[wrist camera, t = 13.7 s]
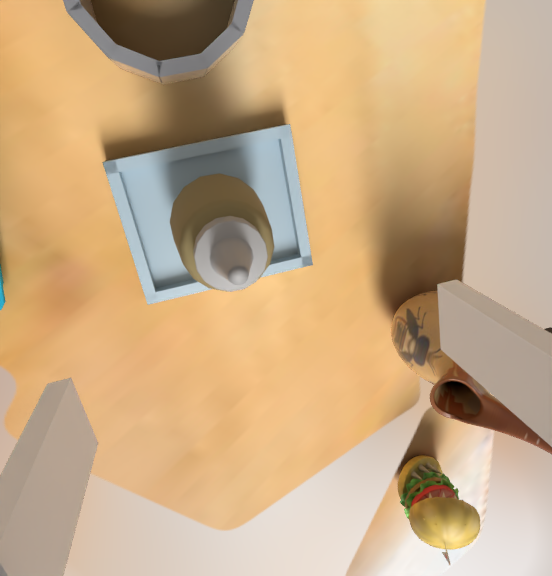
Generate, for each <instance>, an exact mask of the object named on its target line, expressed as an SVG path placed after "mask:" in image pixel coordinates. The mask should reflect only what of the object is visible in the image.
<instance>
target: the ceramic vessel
mask: <svg viewBox="0 0 552 576" xmlns="http://www.w3.org/2000/svg"><path fill="white" fill-rule="evenodd" d="M391 335H392V340H393V343H394V346H395V348H396V350H397V352H398V354H399V356H400V357H401V358H402V360H403V361H404V362H405V363H406V365H407V366H408V367H409V368H410V369H411V370H413V371H414V372H415V373H416V374H418V375H419V376H420V377H422V378H424V379H425V380H427V381H428V382H430V383H432V384H434V386H433V388H432V390H431V393H430V402H431V405H432V406H433V408H434V409H435V410H436V411H437V412H438V413H439V414H441V415H443V416H445V417H448V418H451V419H455V420H459V421H461V422H464V423H468V424H472V425H476V426H480V427H484V428H488V429H492V430H495V431H499V432H502V433H505V434H508V435H511V436H513V437H516V438H519V439H521V440H524V441H526V442H528V443H531V444H533V445H535V446H537V447H539V448H541V449H543V450H545V451H547V452H548V453H550V454H552V447H551V446H550V445H549V444H548V443H547V442H546V441H544V440H543V439H542V438H541V437H540V436H539V435H538V434H536V433H535V432H534V431H533V430H532V429H531V428H530V427H528V426H527V425H526V424H525V423H524V422H523V421H522V420H521V419H519V418H518V417H517V416H516V415H515V414H514V413H513V412H511V411H510V410H509V409H508V408H507V407H506V406H505V405H503V404H502V403H501V402H500V401H499V400H498V399H497V398H495V397H494V396H493V395H491V394H490V392H489V391H487V390H486V389H485V388H484V387H483V386H482V385H481V384H479V383H478V382H477V381H476V380H475V379H474V378H473V377H472V376H470V375H469V374H468V373H467V372H466V371H465V370H464V369H462V368H461V367H460V366H459V365H458V364H457V363H456V362H454V361H453V360H452V359H451V358H450V357H449V356H448V355H446V354H445V353H444V352H443V351H442V350H441V346H440V327H439V308H438V290H435V291H429V292H424V293H421V294H418V295H416V296H414V297H412V298H410V299H408V300H407V301H405V302H404V303H403V304H402V305H401V306H400V307H399V308H398V310H397V311H396V313H395V315H394V317H393V320H392V325H391Z"/></svg>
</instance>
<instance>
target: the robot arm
mask: <svg viewBox="0 0 552 576" xmlns="http://www.w3.org/2000/svg"><path fill="white" fill-rule="evenodd" d="M437 289H438V308H439V327H440V346H441V350H442V351H443V352H444V353H445V354H446V355H448V356H449V357H450V358H451V359H452V360H453V361H454V362H456V363H457V364H458V365H459V366H460V367H461V368H462V369H464V370H465V371H466V372H467V373H468V374H469V375H470V376H472V377H473V378H474V379H475V380H476V381H477V382H478V383H479V384H481V385H482V386H483V387H484V388H485V389H486V390H487V391H489V392H490V393H491V394H492V395H493V396H494V397H495V398H497V399H498V400H499V401H500V402H501V403H502V404H503V405H505V406H506V407H507V408H508V409H509V410H510V411H511V412H513V413H514V414H515V415H516V416H517V417H518V418H519V419H521V420H522V421H523V422H524V423H525V424H526V425H527V426H528V427H530V428H531V429H532V430H533V431H534V432H535V433H536V434H538V435H539V436H540V437H541V438H542V439H543V440H544V441H546V442H547V443H548V444H549V445H550V446H551V447H552V328H546V329H543V328H541V327H539V326H537V325H536V324H534V323H532V322H530V321H529V320H527V319H525V318H523V317H522V316H520V315H518V314H516V313H515V312H513V311H511V310H509V309H508V308H506V307H504V306H502V305H501V304H499V303H497V302H495V301H494V300H492V299H490V298H488V297H486V296H485V295H483V294H481V293H479V292H478V291H476V290H474V289H472V288H471V287H469V286H467V285H466V284H464V283H462V282H460V281H459V280H457V279H456V280H452V281H448V282H444V283H440V284H437ZM97 445H98V442H97V439H96V437H95V434H94V432H93V429H92V427H91V425H90V422H89V420H88V417H87V415H86V413H85V410H84V408H83V405H82V403H81V401H80V398H79V396H78V393H77V391H76V388H75V386H74V384H73V381H72V379H71V378H68V379H64V380H60V381H56V382H52V383H48V384H47V386H46V387H45V389H44V391H43V393H42V395H41V397H40V399H39V401H38V403H37V405H36V407H35V409H34V411H33V413H32V415H31V417H30V419H29V420H28V422H27V424H26V426H25V428H24V430H23V432H22V434H21V436H20V438H19V440H18V442H17V444H16V446H15V448H14V450H13V452H12V454H11V455H10V458H9V459H8V461H7V463H6V465H5V467H4V469H3V471H2V473H1V475H0V576H63V575H64V571H65V568H66V564H67V560H68V556H69V552H70V549H71V545H72V540H73V537H74V533H75V529H76V525H77V522H78V518H79V514H80V510H81V506H82V503H83V499H84V495H85V491H86V487H87V483H88V480H89V476H90V472H91V468H92V464H93V461H94V457H95V453H96V449H97Z"/></svg>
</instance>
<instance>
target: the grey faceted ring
mask: <svg viewBox="0 0 552 576" xmlns="http://www.w3.org/2000/svg"><path fill="white" fill-rule="evenodd" d="M63 1H64V5H65V8H66V11H67V13H68V14H69V15H70V16H71V17H72V18H73V19H74V20H75V22H76V23H77V24H78V25H79V26H80V27H81V28H82V29H83V30H84V32H85V33H86V34H87V35H88V36H89V37H90V38H91V39H92V40H93V42H94V43H95V44H96V45H97V46H98V47H99V48H100V49H101V50H102V52H103V53H104V54H105V55H106V56H107V57H108V58H109V59H110V60H111V61H112V62H114V63H115V64H116V65H117V66H118V67H119V68H121V69H123V70H126V71H128V72H131V73H134V74H136V75H139V76H141V77H144V78H147V79H149V80H152V81H155V82H157V83H160V84H162V83H163V84H169V83H174V82H179V81H185V80H190V79H195V78H201V77H203V76H205V75H206V74H207V73H208V72H209V71H210V70H211V69H212V68H214V67H215V66H216V65H217V64H218V63H219V62H220V61H221V60H222V59H223V58H224V57H225V56H226V55H227V54H228V53H229V52H230V51H231V50H232V49H233V48H234V47H235V46H236V44H237V43H238V41H239V40H240V38H241V37H242V35H243V34H244V32H245V28H246V25H247V21H248V18H249V14H250V11H251V8H252V4H253V1H254V0H234V4H233V8H232V12H231V15H230V19H229V22H228V26H227V29H226V30H225V31H224V32H223V33H221V34H220V35H219V36H218V37H217V38H216V39H215V40H214V41H213V42H212V43H211V44H210V45H209V46H208V47H207V48H206V49H205V50H204V51H203V52H202V53H201V54H196V55H190V56H185V57H179V58H173V59H168V60H162V61H158V60H155V59H152V58H150V57H147V56H145V55H142V54H140V53H137V52H135V51H132V50H130V49H127V48H124V47H122V46H119V45H117V44H115V43H114V42H113V40H112V39H111V38H110V37H109V36H108V35H107V34H106V33H105V31H104V30H103V29H102V28H101V27H100V26H99V25H98V23H97V20H96V16H95V13H94V10H93V6H92V3H91V0H63Z"/></svg>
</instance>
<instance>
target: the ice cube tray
mask: <svg viewBox="0 0 552 576" xmlns="http://www.w3.org/2000/svg"><path fill="white" fill-rule="evenodd" d="M4 303H5V296H4V291H3V277H2V271H1V266H0V310H1V309H2V308H3V305H4Z"/></svg>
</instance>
